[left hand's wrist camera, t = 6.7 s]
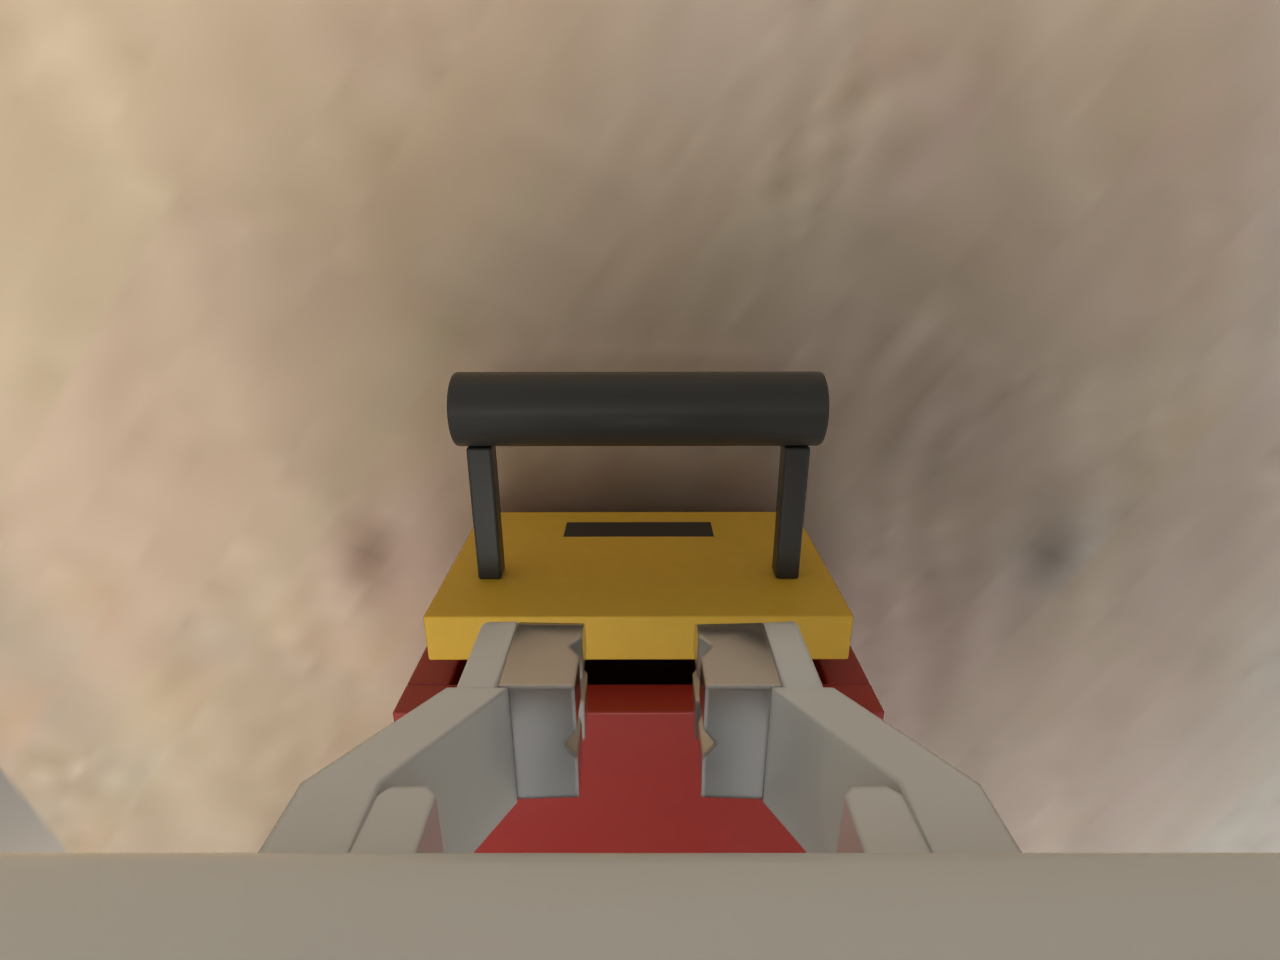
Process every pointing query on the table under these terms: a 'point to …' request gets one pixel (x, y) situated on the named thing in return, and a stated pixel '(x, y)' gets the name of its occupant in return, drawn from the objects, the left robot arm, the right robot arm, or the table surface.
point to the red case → (639, 775)
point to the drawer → (638, 521)
